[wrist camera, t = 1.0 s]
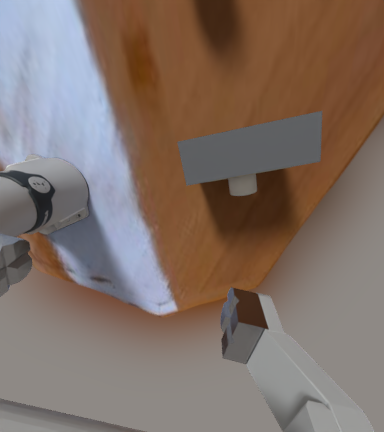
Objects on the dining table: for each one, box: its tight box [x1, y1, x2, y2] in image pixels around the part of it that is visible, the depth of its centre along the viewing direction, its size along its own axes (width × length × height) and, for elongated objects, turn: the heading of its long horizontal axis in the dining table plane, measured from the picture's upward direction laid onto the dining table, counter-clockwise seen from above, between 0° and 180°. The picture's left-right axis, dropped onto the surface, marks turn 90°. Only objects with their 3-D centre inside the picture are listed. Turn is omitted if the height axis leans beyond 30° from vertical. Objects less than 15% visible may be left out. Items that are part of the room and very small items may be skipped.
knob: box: [228, 174, 257, 196], centre depth 35 cm, size 11×5×5 cm, turn 11°
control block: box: [178, 111, 322, 185], centre depth 34 cm, size 6×18×18 cm, turn 101°
